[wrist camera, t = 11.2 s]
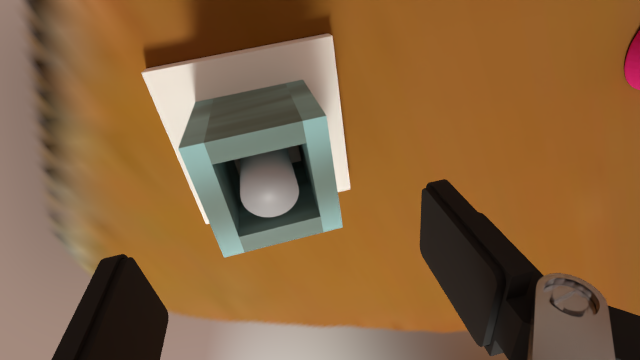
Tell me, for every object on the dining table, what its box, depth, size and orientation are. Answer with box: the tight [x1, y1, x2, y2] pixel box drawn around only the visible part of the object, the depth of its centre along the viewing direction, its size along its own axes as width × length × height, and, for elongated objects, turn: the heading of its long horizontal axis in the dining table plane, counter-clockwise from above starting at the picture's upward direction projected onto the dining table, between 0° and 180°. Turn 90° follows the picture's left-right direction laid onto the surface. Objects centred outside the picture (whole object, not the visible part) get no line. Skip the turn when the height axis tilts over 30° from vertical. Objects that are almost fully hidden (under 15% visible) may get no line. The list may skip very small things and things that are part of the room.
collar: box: [178, 80, 343, 257], centre depth 17 cm, size 6×6×6 cm
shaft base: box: [142, 33, 350, 224], centre depth 18 cm, size 10×10×7 cm
